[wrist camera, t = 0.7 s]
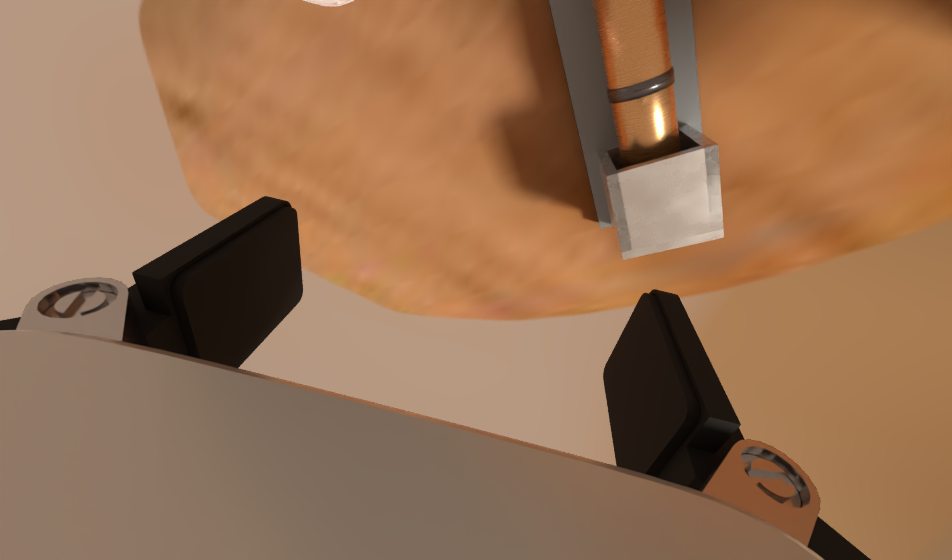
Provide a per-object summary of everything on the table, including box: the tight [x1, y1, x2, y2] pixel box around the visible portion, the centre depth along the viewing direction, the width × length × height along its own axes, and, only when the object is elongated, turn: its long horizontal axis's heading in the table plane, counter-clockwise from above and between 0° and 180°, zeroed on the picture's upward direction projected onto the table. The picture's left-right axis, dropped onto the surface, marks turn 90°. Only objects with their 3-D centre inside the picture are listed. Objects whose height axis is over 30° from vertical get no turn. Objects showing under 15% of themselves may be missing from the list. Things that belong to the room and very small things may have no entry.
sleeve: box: [596, 124, 724, 260], centre depth 27 cm, size 6×6×6 cm
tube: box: [592, 0, 681, 168], centre depth 25 cm, size 4×16×4 cm, turn 21°
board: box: [549, 0, 702, 229], centre depth 26 cm, size 8×24×1 cm, turn 20°
